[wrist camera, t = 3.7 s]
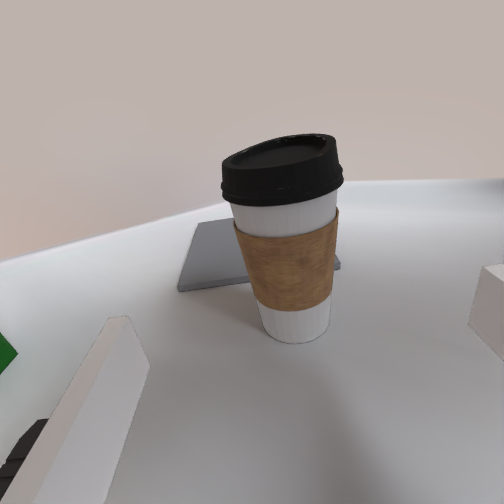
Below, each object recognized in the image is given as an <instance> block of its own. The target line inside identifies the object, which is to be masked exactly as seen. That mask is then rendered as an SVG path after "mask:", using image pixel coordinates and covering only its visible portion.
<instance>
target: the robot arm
mask: <svg viewBox="0 0 504 504" xmlns="http://www.w3.org/2000/svg"><path fill="white" fill-rule="evenodd" d="M468 325H469V326H470V327H471V328H472V329H473V330H474V331H475V332H476V333H477V335H478V336H479V337H480V338H481V339H482V340H483V341H484V342H485V343H486V344H487V345H488V346H489V347H490V348H491V349H492V350H493V351H494V352H495V353H496V354H497V355H498V356H499V357H500V358H501V359H502V360H503V361H504V264H497V265H490V266H482V270H481V274H480V278H479V282H478V286H477V290H476V294H475V298H474V302H473V306H472V310H471V314H470V318H469V322H468ZM149 369H150V364H149V361H148V359H147V357H146V355H145V352H144V350H143V348H142V346H141V343H140V341H139V339H138V336H137V334H136V332H135V330H134V327H133V325H132V323H131V320H130V318H129V316H121V317H113V318H108V320H107V322H106V323H105V325H104V327H103V329H102V330H101V332H100V334H99V335H98V337H97V339H96V340H95V342H94V344H93V345H92V347H91V349H90V351H89V352H88V354H87V356H86V357H85V359H84V361H83V362H82V364H81V366H80V367H79V369H78V371H77V373H76V374H75V376H74V378H73V379H72V381H71V383H70V384H69V386H68V388H67V389H66V391H65V393H64V395H63V396H62V398H61V400H60V401H59V403H58V405H57V406H56V408H55V410H54V411H53V413H52V415H51V417H50V418H48V419H40V420H37V421H36V422H35V423H34V424H33V425H32V426H31V428H30V429H29V430H28V431H27V432H26V433H25V434H24V435H23V436H22V437H21V438H20V439H19V440H18V442H17V444H16V445H15V447H14V448H13V450H12V451H11V453H10V455H9V456H8V458H7V459H6V463H5V464H3V465H2V467H1V469H0V504H105V501H106V498H107V495H108V492H109V489H110V486H111V483H112V480H113V477H114V474H115V471H116V468H117V465H118V462H119V459H120V456H121V453H122V450H123V447H124V444H125V441H126V438H127V435H128V432H129V429H130V426H131V423H132V420H133V417H134V414H135V411H136V408H137V405H138V402H139V399H140V396H141V393H142V390H143V387H144V384H145V381H146V378H147V375H148V372H149Z"/></svg>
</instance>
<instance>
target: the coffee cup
mask: <svg viewBox="0 0 504 504" xmlns="http://www.w3.org/2000/svg"><path fill="white" fill-rule="evenodd" d="M342 172H343V169H342V167H341V165H340V164H339V161H338V154H337V147H336V140H335V138H334V137H332V136H330V135H326V134H300V135H292V136H284V137H279V138H275V139H272V140H268V141H265V142H262V143H259V144H257V145H254V146H251V147H249V148H247V149H245V150H242V151H240V152H237V153H235V154H233V155H231V156H229V157H228V158H226V159H225V160H224V161H223V162H222V180H223V182H222V183H221V189H222V190H223V192H222V196H223V198H224V199H225V200H226V201H228V202H229V203H230V205H231V209H232V212H233V216H234V221H233V226H234V230H235V233H236V236H237V240H238V243H239V246H240V249H241V253H242V256H243V259H244V263H245V266H246V269H247V272H248V276H249V279H250V282H251V285H252V289H253V292H254V295H255V297H256V301H257V304H258V308H259V312H260V315H261V319H262V323H263V326H264V328H265V330H266V332H267V333H268V334H269V335H270V336H271V337H273V338H274V339H276V340H278V341H281V342H285V343H292V344H298V343H305V342H309V341H312V340H314V339H316V338H318V337H319V336H321V335H322V334H323V333H324V332H325V331H326V329H327V327H328V325H329V320H330V307H331V291H332V283H333V272H334V260H335V249H336V238H337V227H338V215H339V210H338V208H337V207H336V202H337V189H338V188H339V187H340V186H341V185H342V184H343V181H344V178H343V175H342Z"/></svg>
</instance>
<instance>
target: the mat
mask: <svg viewBox="0 0 504 504" xmlns="http://www.w3.org/2000/svg"><path fill="white" fill-rule="evenodd" d="M233 221H234V218H228V219H222V220H215V221H209V222H202V223H198V226H197V229H196V232H195V235H194V238H193V241H192V244H191V247H190V250H189V253H188V256H187V259H186V262H185V265H184V268H183V271H182V274H181V277H180V280H179V283H178V289H179V292H181V291H188V290H195V289H202V288H209V287H216V286H223V285H230V284H237V283H244V282H250V279H249V276H248V272H247V269H246V266H245V263H244V259H243V256H242V253H241V249H240V246H239V243H238V240H237V236H236V233H235V230H234V226H233ZM336 269H340V261H339V260H338V258H337V256H336V254H335V260H334V270H336Z"/></svg>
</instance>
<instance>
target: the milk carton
mask: <svg viewBox="0 0 504 504" xmlns="http://www.w3.org/2000/svg"><path fill="white" fill-rule="evenodd" d="M17 354H18V353H17V352H16V350H15V349H14V348H13V347H12V346H11V345H10V343H9V342H8V341H7V340H6V339H5V338H4V336H3V335H2V334H1V333H0V374H1V373H2V371H3V370H4V369H5V368H6V367H7V366H8V364H9V363H10V362H11V361H12V360H13V359H14V357H15V356H16V355H17Z"/></svg>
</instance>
